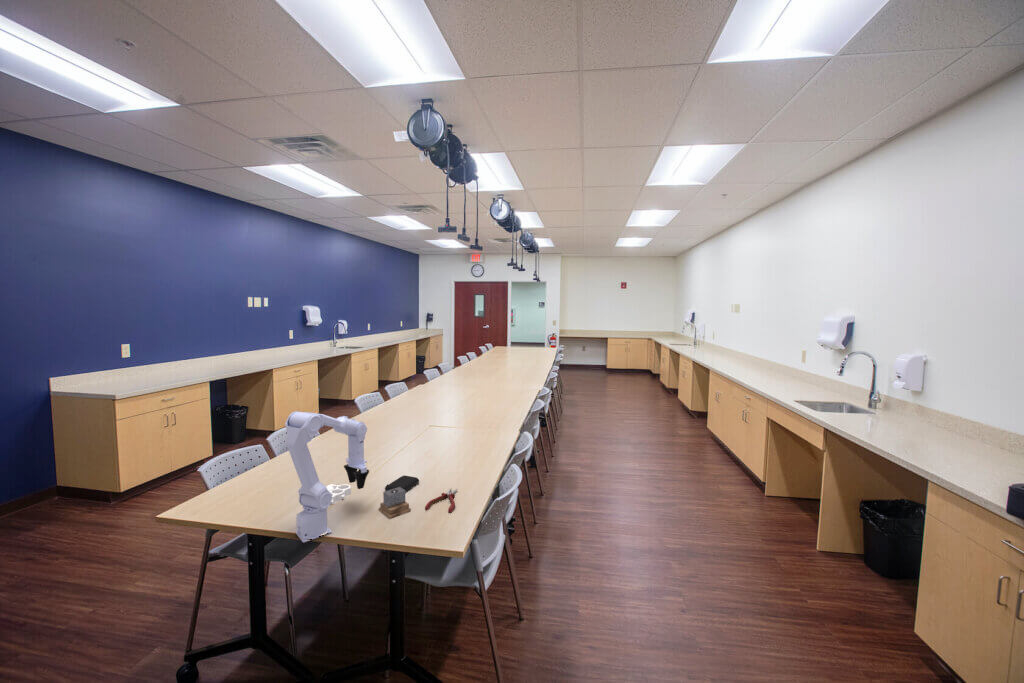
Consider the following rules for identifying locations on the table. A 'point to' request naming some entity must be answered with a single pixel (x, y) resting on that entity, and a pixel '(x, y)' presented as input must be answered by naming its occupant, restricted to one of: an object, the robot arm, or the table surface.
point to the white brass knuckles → (338, 491)
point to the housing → (394, 497)
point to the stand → (394, 510)
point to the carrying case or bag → (403, 483)
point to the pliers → (444, 496)
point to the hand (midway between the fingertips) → (356, 485)
